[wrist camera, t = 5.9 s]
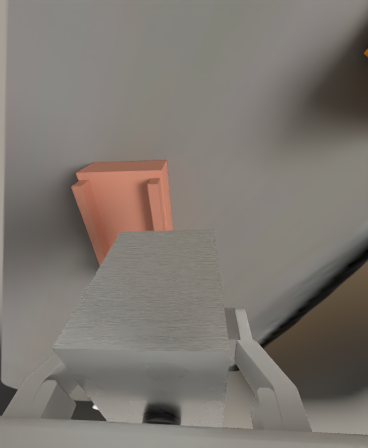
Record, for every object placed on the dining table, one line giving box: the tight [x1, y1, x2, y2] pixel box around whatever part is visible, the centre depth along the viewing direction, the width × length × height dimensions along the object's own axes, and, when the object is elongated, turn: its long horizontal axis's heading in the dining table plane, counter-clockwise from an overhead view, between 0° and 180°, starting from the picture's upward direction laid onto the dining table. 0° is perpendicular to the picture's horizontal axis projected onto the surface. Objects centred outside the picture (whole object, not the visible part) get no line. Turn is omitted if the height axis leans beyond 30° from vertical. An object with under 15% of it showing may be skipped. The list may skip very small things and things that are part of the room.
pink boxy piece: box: [71, 160, 173, 265], centre depth 25 cm, size 16×9×8 cm, turn 3°
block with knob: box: [52, 229, 230, 427], centre depth 10 cm, size 8×5×6 cm, turn 4°
